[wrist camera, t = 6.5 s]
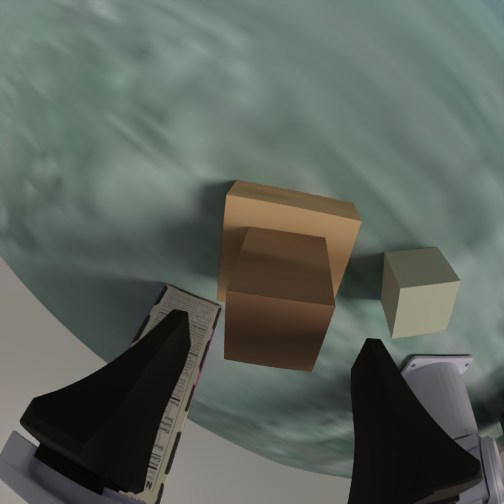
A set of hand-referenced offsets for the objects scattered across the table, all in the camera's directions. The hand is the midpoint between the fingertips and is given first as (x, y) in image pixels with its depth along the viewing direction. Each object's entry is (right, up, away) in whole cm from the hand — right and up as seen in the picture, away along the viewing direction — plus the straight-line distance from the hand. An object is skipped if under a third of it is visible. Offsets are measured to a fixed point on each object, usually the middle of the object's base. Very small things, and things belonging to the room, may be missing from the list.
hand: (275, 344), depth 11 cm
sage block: (+10, +2, +7) cm, 12 cm away
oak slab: (+1, +4, +8) cm, 9 cm away
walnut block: (+1, +3, +5) cm, 6 cm away
